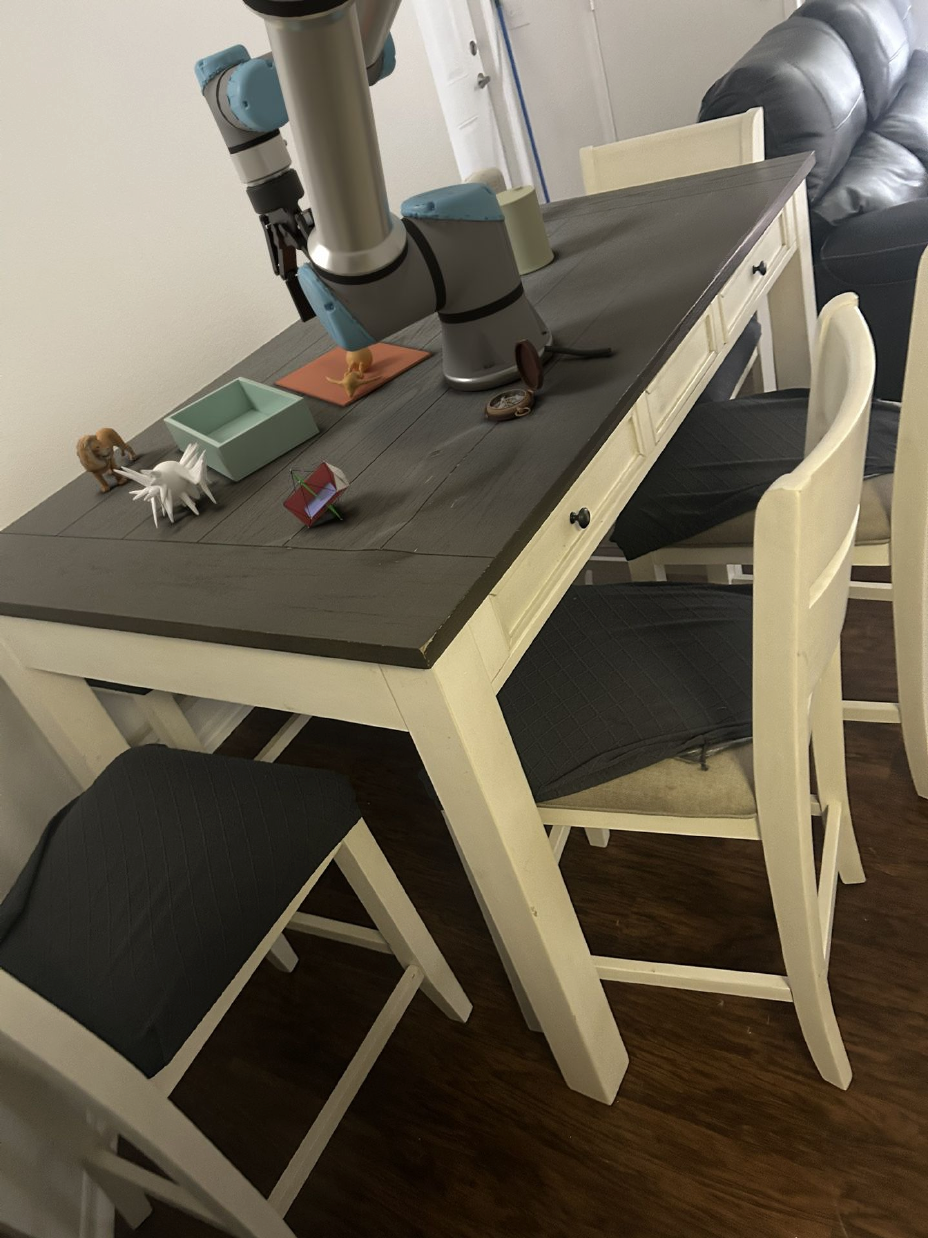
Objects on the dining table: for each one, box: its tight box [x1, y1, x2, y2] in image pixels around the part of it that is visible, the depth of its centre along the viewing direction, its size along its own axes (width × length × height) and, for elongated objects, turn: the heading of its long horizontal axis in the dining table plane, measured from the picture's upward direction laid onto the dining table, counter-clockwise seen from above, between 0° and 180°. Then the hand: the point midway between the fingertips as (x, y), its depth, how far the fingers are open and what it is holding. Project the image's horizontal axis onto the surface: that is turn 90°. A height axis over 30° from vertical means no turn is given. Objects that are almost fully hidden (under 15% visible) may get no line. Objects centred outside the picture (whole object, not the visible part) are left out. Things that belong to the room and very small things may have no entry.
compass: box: [484, 339, 545, 421], centre depth 110 cm, size 8×8×7 cm
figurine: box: [326, 347, 383, 398], centre depth 136 cm, size 8×6×12 cm
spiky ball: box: [114, 443, 218, 529], centre depth 118 cm, size 11×12×8 cm
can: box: [496, 184, 555, 276], centre depth 154 cm, size 9×9×12 cm
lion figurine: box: [75, 427, 138, 493], centre depth 137 cm, size 15×5×9 cm, turn 13°
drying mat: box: [275, 341, 432, 408], centre depth 144 cm, size 24×16×1 cm, turn 36°
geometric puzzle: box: [281, 460, 351, 529], centre depth 104 cm, size 7×7×8 cm
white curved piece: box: [460, 166, 508, 194], centre depth 174 cm, size 10×4×12 cm, turn 134°
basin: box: [163, 376, 320, 483], centre depth 133 cm, size 23×14×5 cm, turn 36°
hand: (330, 322), depth 139 cm, fingers open, 13 cm apart
